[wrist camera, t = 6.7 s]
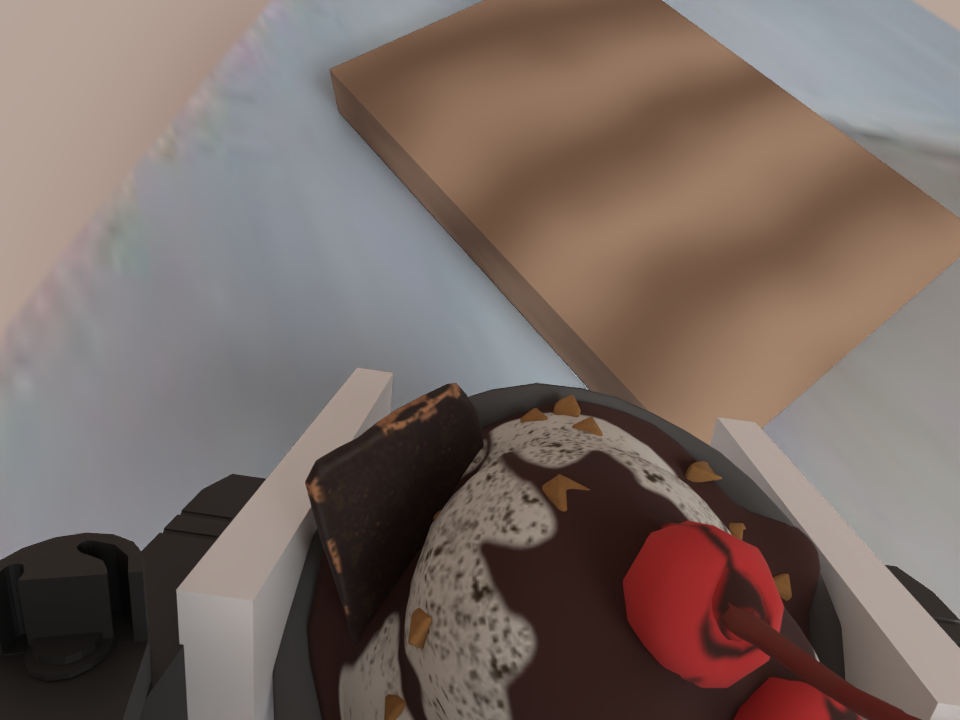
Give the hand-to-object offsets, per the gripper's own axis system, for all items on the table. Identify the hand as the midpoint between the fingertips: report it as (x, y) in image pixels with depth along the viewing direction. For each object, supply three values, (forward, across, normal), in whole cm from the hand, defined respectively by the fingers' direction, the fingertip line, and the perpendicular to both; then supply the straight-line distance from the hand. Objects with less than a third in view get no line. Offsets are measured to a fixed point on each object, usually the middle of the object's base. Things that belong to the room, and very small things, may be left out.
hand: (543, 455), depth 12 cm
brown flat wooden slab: (+14, +3, +5) cm, 15 cm away
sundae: (+2, 0, -7) cm, 7 cm away
